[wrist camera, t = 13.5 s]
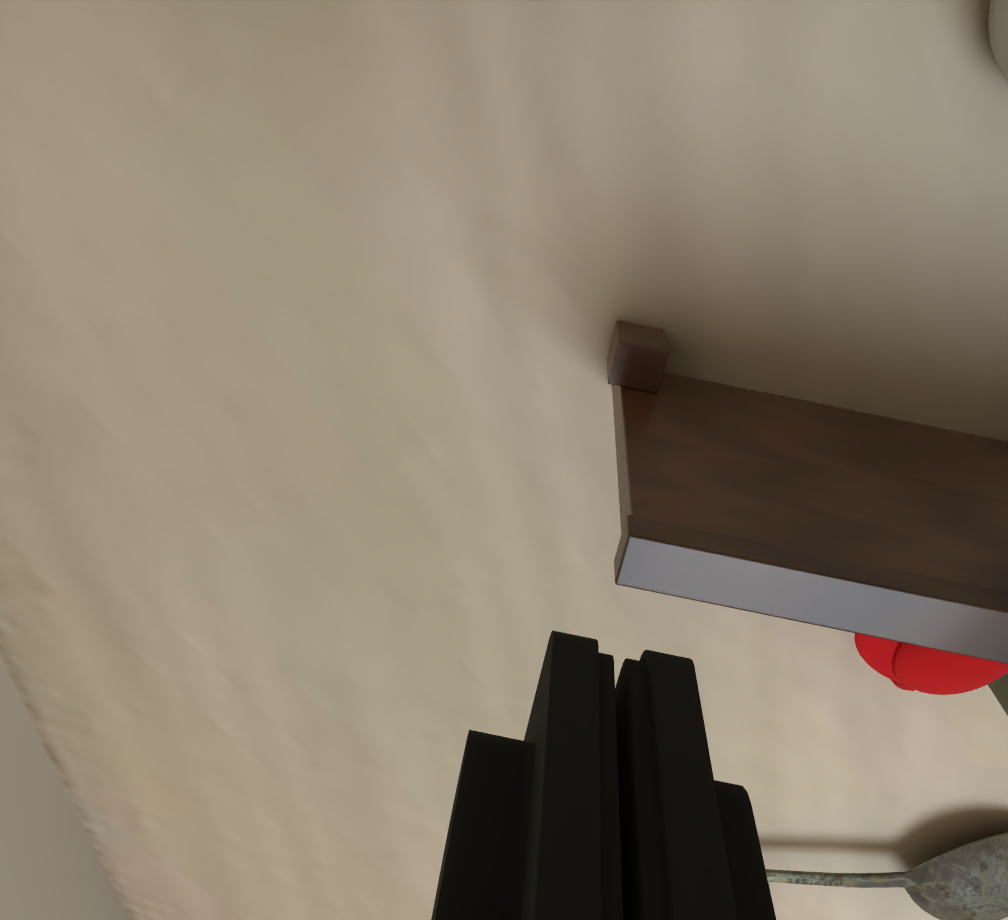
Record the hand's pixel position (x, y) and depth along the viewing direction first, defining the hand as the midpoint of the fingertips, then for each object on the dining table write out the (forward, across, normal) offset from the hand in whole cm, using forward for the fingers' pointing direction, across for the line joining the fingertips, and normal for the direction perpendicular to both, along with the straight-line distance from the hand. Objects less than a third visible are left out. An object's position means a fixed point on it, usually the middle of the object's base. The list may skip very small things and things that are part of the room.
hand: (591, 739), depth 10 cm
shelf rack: (+27, -13, +8) cm, 31 cm away
